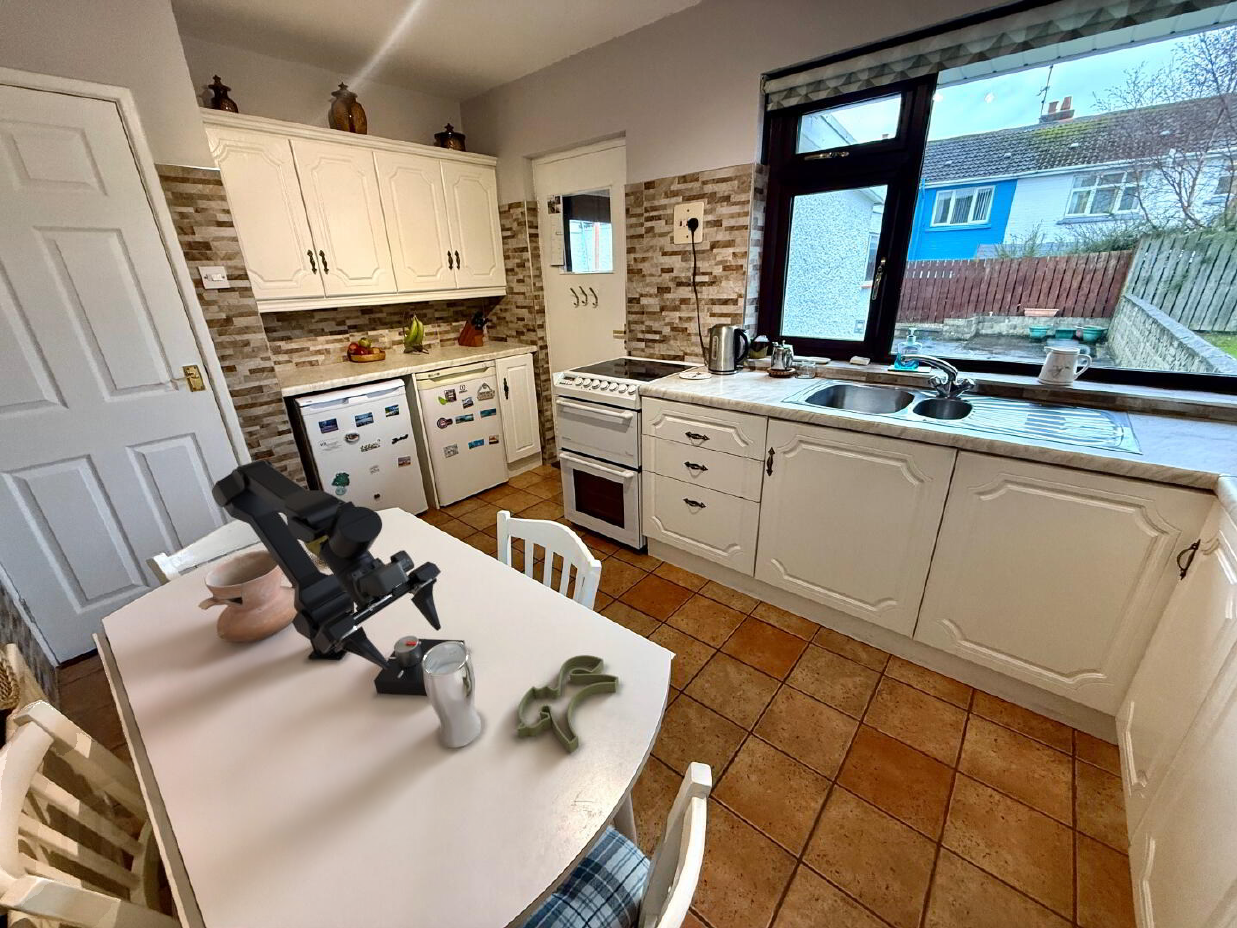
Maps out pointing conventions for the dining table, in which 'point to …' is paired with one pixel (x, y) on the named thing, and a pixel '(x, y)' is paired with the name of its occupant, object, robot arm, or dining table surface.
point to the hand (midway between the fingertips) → (414, 647)
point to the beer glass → (452, 692)
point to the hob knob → (407, 651)
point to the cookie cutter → (576, 677)
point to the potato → (315, 545)
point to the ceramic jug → (250, 597)
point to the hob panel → (405, 673)
